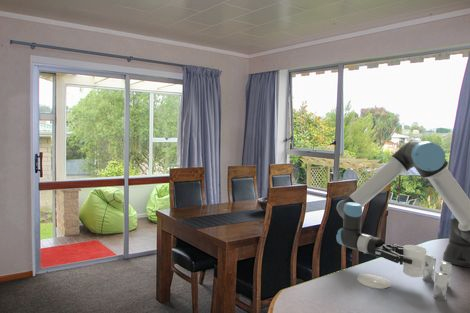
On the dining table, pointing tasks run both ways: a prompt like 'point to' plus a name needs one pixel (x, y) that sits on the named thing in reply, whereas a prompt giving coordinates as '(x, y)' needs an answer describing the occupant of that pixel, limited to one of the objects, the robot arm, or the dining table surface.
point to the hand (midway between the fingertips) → (427, 262)
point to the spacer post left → (429, 271)
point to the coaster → (373, 281)
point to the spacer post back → (446, 270)
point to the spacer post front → (440, 286)
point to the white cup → (415, 253)
